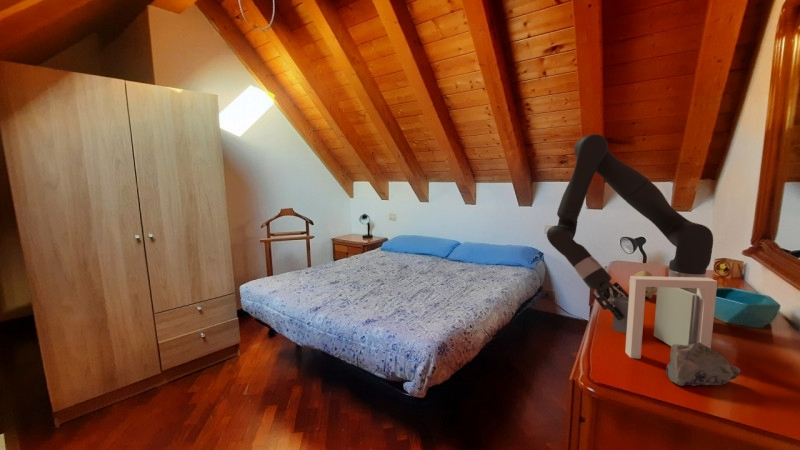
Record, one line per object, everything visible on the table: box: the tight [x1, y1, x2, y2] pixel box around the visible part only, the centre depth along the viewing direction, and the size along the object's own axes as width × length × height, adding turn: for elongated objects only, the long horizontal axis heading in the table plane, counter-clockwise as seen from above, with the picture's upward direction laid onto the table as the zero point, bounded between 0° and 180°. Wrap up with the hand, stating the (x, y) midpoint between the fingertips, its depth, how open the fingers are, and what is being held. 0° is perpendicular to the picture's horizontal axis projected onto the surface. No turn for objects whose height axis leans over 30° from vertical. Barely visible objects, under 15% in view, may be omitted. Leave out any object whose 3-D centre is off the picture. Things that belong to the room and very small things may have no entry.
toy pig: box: [628, 270, 657, 299], centre depth 133 cm, size 10×12×11 cm
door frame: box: [624, 275, 718, 359], centre depth 87 cm, size 18×3×22 cm, turn 80°
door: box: [653, 287, 699, 347], centre depth 92 cm, size 13×3×17 cm, turn 0°
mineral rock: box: [665, 342, 741, 387], centre depth 77 cm, size 13×11×10 cm
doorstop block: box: [612, 296, 629, 335], centre depth 105 cm, size 4×5×10 cm
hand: (628, 315), depth 104 cm, fingers open, 8 cm apart
